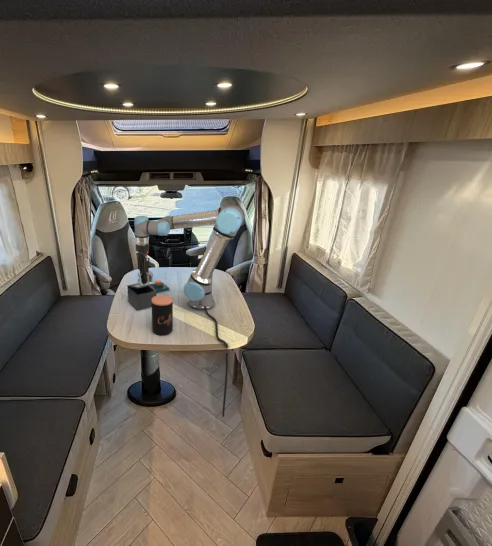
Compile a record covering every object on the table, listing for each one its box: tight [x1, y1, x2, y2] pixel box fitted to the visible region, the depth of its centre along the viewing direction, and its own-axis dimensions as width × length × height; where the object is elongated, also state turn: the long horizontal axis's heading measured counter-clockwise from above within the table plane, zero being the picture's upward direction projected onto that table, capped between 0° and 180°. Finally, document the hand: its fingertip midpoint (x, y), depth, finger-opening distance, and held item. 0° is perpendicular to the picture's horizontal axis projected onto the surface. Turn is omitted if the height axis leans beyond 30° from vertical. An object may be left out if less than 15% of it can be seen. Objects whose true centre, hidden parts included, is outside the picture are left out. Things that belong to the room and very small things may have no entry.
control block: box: [151, 281, 170, 294], centre depth 210 cm, size 12×10×4 cm
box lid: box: [126, 272, 157, 288], centre depth 185 cm, size 16×13×8 cm
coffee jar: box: [151, 294, 174, 337], centre depth 157 cm, size 11×11×18 cm
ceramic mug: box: [137, 270, 154, 283], centre depth 222 cm, size 11×8×8 cm
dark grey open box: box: [127, 286, 158, 311], centre depth 188 cm, size 15×13×10 cm
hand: (143, 282), depth 182 cm, fingers closed on box lid, 2 cm apart
